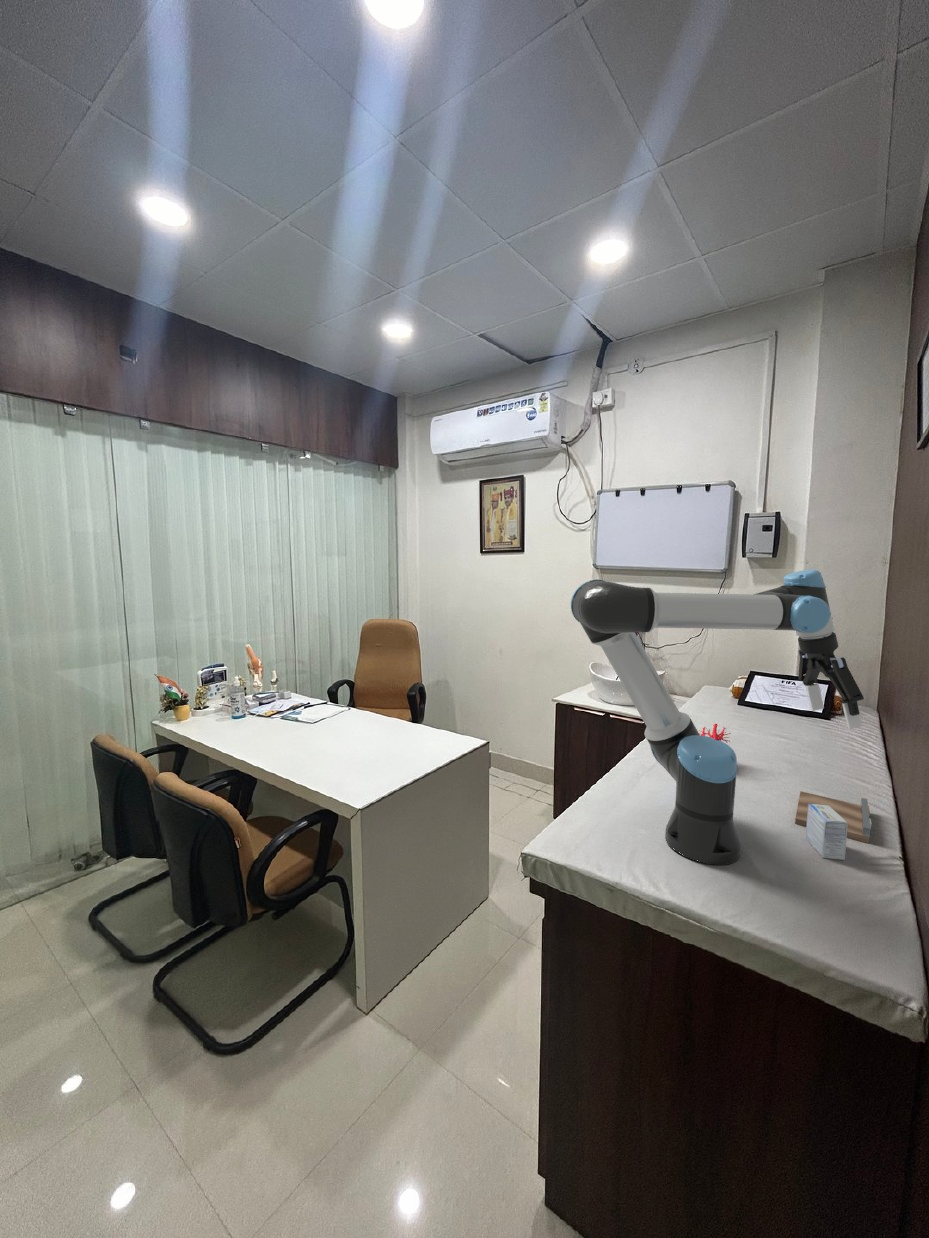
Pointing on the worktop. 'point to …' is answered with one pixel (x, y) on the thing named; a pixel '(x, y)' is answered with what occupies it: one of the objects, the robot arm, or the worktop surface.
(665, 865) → the worktop surface
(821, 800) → the shelf board
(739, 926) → the worktop surface
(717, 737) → the red branching piece
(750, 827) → the worktop surface
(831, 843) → the medicine box
